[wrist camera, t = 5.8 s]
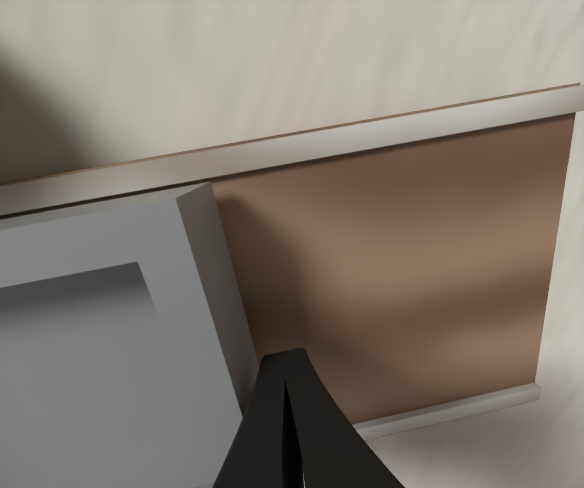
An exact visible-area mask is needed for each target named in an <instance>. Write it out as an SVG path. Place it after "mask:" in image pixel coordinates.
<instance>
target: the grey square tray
mask: <svg viewBox="0 0 584 488" xmlns="http://www.w3.org/2000/svg"><path fill="white" fill-rule="evenodd" d="M258 371H259V365H258V361H257V357H256V354H255V350H254V346H253V342H252V338H251V334H250V330H249V327H248V323H247V319H246V315H245V311H244V307H243V303H242V300H241V296H240V292H239V288H238V284H237V280H236V276H235V272H234V269H233V265H232V261H231V257H230V253H229V249H228V245H227V242H226V238H225V234H224V230H223V226H222V222H221V218H220V214H219V211H218V207H217V203H216V199H215V195H214V191H213V187H212V184H211V182H206V183H201V184H195V185H190V186H184V187H178V188H173V189H167V190H162V191H156V192H151V193H145V194H140V195H134V196H129V197H123V198H117V199H112V200H106V201H101V202H95V203H90V204H84V205H79V206H73V207H67V208H62V209H56V210H51V211H45V212H40V213H34V214H29V215H23V216H18V217H12V218H6V219H1V220H0V488H212V486H213V484H214V482H215V480H216V478H217V476H218V474H219V472H220V470H221V467H222V465H223V463H224V461H225V458H226V456H227V454H228V451H229V449H230V447H231V445H232V442H233V440H234V438H235V435H236V433H237V431H238V428H239V426H240V423H241V421H242V418H243V415H244V413H245V410H246V407H247V405H248V402H249V399H250V397H251V394H252V391H253V388H254V385H255V381H256V378H257V375H258Z"/></svg>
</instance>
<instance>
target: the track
mask: <svg viewBox="0 0 584 488" xmlns="http://www.w3.org/2000/svg"><path fill="white" fill-rule="evenodd" d="M579 111H584V85H580V83H575V84H570V85H564V86H558V87H552V88H547V89H541V90H535V91H529V92H524V93H518V94H512V95H506V96H501V97H495V98H489V99H483V100H478V101H472V102H466V103H460V104H455V105H449V106H443V107H437V108H432V109H426V110H420V111H414V112H408V113H403V114H397V115H391V116H385V117H380V118H374V119H368V120H362V121H357V122H351V123H345V124H339V125H334V126H328V127H322V128H316V129H311V130H305V131H299V132H293V133H288V134H282V135H276V136H270V137H265V138H259V139H253V140H247V141H242V142H236V143H230V144H224V145H219V146H213V147H207V148H201V149H196V150H190V151H184V152H178V153H173V154H167V155H161V156H155V157H150V158H144V159H138V160H132V161H127V162H121V163H115V164H109V165H104V166H98V167H92V168H86V169H81V170H75V171H69V172H63V173H58V174H52V175H46V176H40V177H34V178H29V179H23V180H17V181H11V182H6V183H0V220H1V219H6V218H12V217H18V216H23V215H29V214H34V213H40V212H45V211H51V210H56V209H62V208H67V207H73V206H79V205H84V204H90V203H95V202H101V201H106V200H112V199H117V198H123V197H129V196H134V195H140V194H145V193H151V192H156V191H162V190H167V189H173V188H178V187H184V186H190V185H195V184H201V183H206V182H211V184H212V187H213V191H214V195H215V199H216V203H217V207H218V211H219V214H220V218H221V222H222V226H223V230H224V234H225V238H226V242H227V245H228V249H229V253H230V257H231V261H232V265H233V269H234V272H235V276H236V280H237V284H238V288H239V292H240V296H241V300H242V303H243V307H244V311H245V315H246V319H247V323H248V327H249V330H250V334H251V338H252V342H253V346H254V350H255V354H256V357H257V361H258V365H259V367H260V363H261V359H262V358H263V357H264V355H268V354H273V353H278V352H282V351H287V350H292V349H296V348H301V347H302V348H304V349H305V350H306V352H307V354H308V357H309V359H310V361H311V363H312V365H313V367H314V369H315V371H316V373H317V374H318V376H319V378H320V379H321V381H322V383H323V384H324V386H325V387H326V389H327V391H328V392H329V393H330V395H331V396H332V398H333V399H334V401H335V402H336V404H337V405H338V407H339V408H340V410H341V411H342V412H343V414H344V415H345V416H346V418H347V419H348V420H349V422H350V423H351V424H352V426H353V427H354V428H355V430H356V431H357V432H358V433H359V435H360V436H361V437H362V439H363V440H364V441H366V440H370V439H374V438H378V437H383V436H387V435H391V434H395V433H400V432H404V431H408V430H412V429H417V428H421V427H425V426H430V425H434V424H438V423H442V422H447V421H451V420H455V419H459V418H464V417H468V416H472V415H477V414H481V413H485V412H489V411H494V410H498V409H502V408H506V407H511V406H515V405H519V404H523V403H528V402H532V401H536V400H538V399H539V393H540V387H539V386H538V385H537V384H536V383H534V382H535V376H536V369H537V363H538V356H539V350H540V343H541V337H542V330H543V323H544V317H545V310H546V304H547V297H548V291H549V284H550V278H551V271H552V264H553V258H554V251H555V245H556V238H557V232H558V225H559V219H560V212H561V206H562V199H563V192H564V186H565V179H566V173H567V166H568V160H569V153H570V147H571V140H572V133H573V127H574V120H575V114H576V112H579Z"/></svg>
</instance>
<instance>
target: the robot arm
mask: <svg viewBox="0 0 584 488" xmlns="http://www.w3.org/2000/svg"><path fill="white" fill-rule="evenodd" d="M303 473H304V479H303ZM304 481H305V488H405V487H404V486H403V485H402V484H401V483H400V482H399V481H398V480H397V479H396V477H395V476H394V475H393V474H392V473H391V472H390V471H389V469H388V468H387V467H386V466H385V465H384V464H383V463H382V461H381V460H380V459H379V458H378V457H377V456H376V454H375V453H374V452H373V451H372V450H371V448H370V447H369V446H368V445H367V443H366V442H365V441H364V440H363V439H362V437H361V436H360V435H359V433H358V432H357V431H356V430H355V428H354V427H353V426H352V424H351V423H350V422H349V420H348V419H347V418H346V416H345V415H344V414H343V412H342V411H341V410H340V408H339V407H338V405H337V404H336V402H335V401H334V399H333V398H332V396H331V395H330V393H329V392H328V391H327V389H326V387H325V386H324V384H323V383H322V381H321V379H320V378H319V376H318V374H317V373H316V371H315V369H314V367H313V365H312V363H311V361H310V359H309V357H308V354H307V352H306V350H305V349H304V348H302V347H301V348H296V349H292V350H287V351H282V352H278V353H273V354H268V355H264V357H263V358H262V359H261V363H260V367H259V371H258V375H257V378H256V381H255V385H254V388H253V391H252V394H251V397H250V399H249V402H248V405H247V407H246V410H245V413H244V415H243V418H242V421H241V423H240V426H239V428H238V431H237V433H236V435H235V438H234V440H233V442H232V445H231V447H230V449H229V451H228V454H227V456H226V458H225V461H224V463H223V465H222V467H221V470H220V472H219V474H218V476H217V478H216V480H215V482H214V484H213V486H212V488H304Z"/></svg>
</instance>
